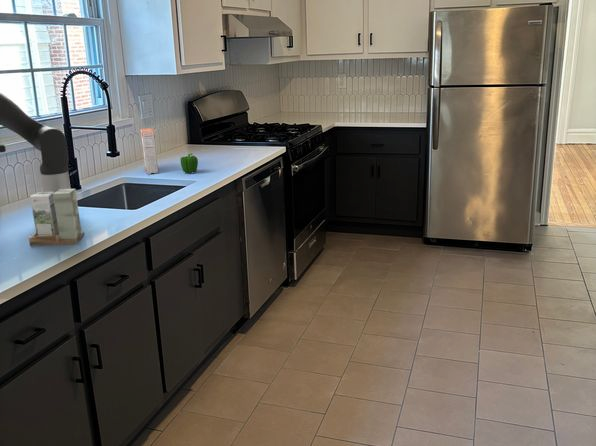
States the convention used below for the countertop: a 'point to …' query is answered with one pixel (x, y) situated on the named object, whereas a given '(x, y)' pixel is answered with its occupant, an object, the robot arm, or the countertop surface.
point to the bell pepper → (189, 163)
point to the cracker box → (149, 150)
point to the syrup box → (44, 214)
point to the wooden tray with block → (63, 220)
